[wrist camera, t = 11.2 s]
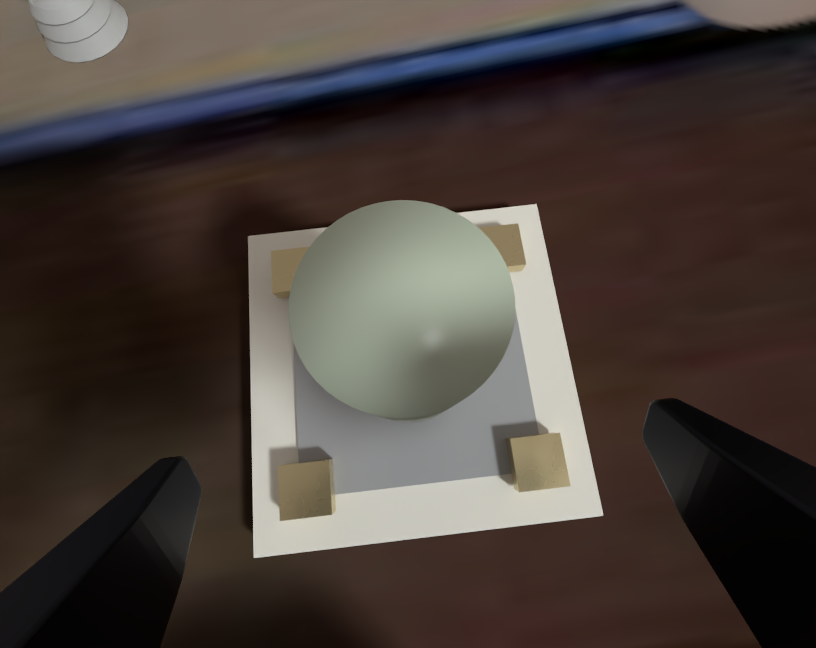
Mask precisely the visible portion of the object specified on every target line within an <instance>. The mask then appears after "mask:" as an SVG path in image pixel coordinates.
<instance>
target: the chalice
mask: <svg viewBox="0 0 816 648" xmlns="http://www.w3.org/2000/svg"><path fill="white" fill-rule="evenodd" d="M28 2H29V8H30V11H31V14H32V15H33V16H34V18H35V19H36V22H37V25H38V28H39V31H40V32H41V33H42V34H43V35H44V39H45V42H46V45H47V48H48V50H49V51H50V52H51V53H52V54H53V55H54V56H56V57H58V58H60V59H62V60H64V61H69V62H77V63H78V62H85V61H92V60H94V59H97V58H99V57H102V56H104V55H106V54H107V53H109V52H110V51H111V50H113V49H114V48H115V47H116V46H117V45H118V44H119V43H120V42H121V40H122V39H123V38H124V35H125V33H126V31H127V28H128V17H127V15H126V12H125V10H124V8H122V7H121V6H120V5H119V4H118V3H117V2H116V1H114V0H28Z"/></svg>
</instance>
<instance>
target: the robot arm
mask: <svg viewBox="0 0 816 648" xmlns="http://www.w3.org/2000/svg"><path fill="white" fill-rule="evenodd" d="M643 440H644V443H645V445H646V447H647V449H648V451H649V453H650V455H651V457H652V459H653V461H654V463H655V465H656V467H657V469H658V472H659V474H660V476H661V478H662V480H663V482H664V484H665V486H666V488H667V490H668V492H669V494H670V496H671V498H672V500H673V502H674V504H675V506H676V508H677V510H678V512H679V514H680V515H681V517H682V519H683V521H684V522H685V524H686V526H687V527H688V529H689V531H690V532H691V534H692V536H693V537H694V539H695V541H696V542H697V544H698V545H699V547H700V549H701V550H702V552H703V553H704V555H705V557H706V558H707V560H708V561H709V563H710V565H711V566H712V568H713V570H714V571H715V573H716V574H717V576H718V578H719V579H720V581H721V582H722V584H723V586H724V587H725V589H726V591H727V592H728V594H729V595H730V597H731V599H732V600H733V602H734V603H735V605H736V607H737V608H738V610H739V612H740V613H741V615H742V616H743V618H744V620H745V621H746V623H747V624H748V626H749V628H750V629H751V631H752V632H753V634H754V636H755V637H756V639H757V641H758V642H759V644H760V645H761V647H762V648H816V467H814V466H812V465H810V464H808V463H806V462H804V461H802V460H800V459H798V458H796V457H794V456H792V455H790V454H788V453H786V452H784V451H782V450H780V449H778V448H776V447H774V446H772V445H770V444H768V443H766V442H764V441H761V440H759V439H757V438H755V437H753V436H751V435H749V434H747V433H745V432H743V431H741V430H739V429H737V428H735V427H733V426H731V425H729V424H727V423H725V422H723V421H721V420H719V419H717V418H715V417H713V416H711V415H709V414H707V413H705V412H703V411H701V410H699V409H697V408H695V407H693V406H691V405H689V404H687V403H685V402H683V401H681V400H678V399H675V398H668V399H659V400H654V401H652V402H651V404H650V405H649V409H648V412H647V416H646V420H645V423H644V427H643ZM200 497H201V486H200V483H199V481H198V479H197V477H196V475H195V473H194V471H193V469H192V468H191V466H190V464H189V462H188V460H187V459H186V458H185V457H182V456H178V457H169V458H163V459H160V460H158V461H157V462H156V463H155V464H153V465H152V466H151V467H150V468H149V469H147V470H146V471H145V472H144V473H143V474H141V475H140V476H139V477H138V478H137V479H135V480H134V481H133V482H132V483H131V484H130V485H128V486H127V487H126V488H125V489H124V490H122V491H121V492H120V493H119V494H118V495H116V496H115V497H114V498H113V499H112V500H110V501H109V502H108V503H107V504H106V505H104V506H103V507H102V508H101V509H100V510H98V511H97V512H96V513H95V514H94V515H93V516H91V517H90V518H89V519H88V520H87V521H85V522H84V523H83V524H82V525H81V526H79V527H78V528H77V529H76V530H75V531H73V532H72V533H71V534H70V535H69V536H67V537H66V538H65V539H64V540H63V541H61V542H60V543H59V544H58V545H57V546H56V547H54V548H53V549H52V550H51V551H50V552H48V553H47V554H46V555H45V556H44V557H42V558H41V559H40V560H39V561H38V562H36V563H35V564H34V565H33V566H32V567H30V568H29V569H28V570H27V571H26V572H25V573H23V574H22V575H21V576H20V577H19V578H17V579H16V580H15V581H14V582H13V583H11V584H10V585H9V586H8V587H7V588H5V589H4V590H3V591H2V592H1V593H0V648H160V646H161V642H162V639H163V636H164V633H165V630H166V627H167V624H168V621H169V618H170V615H171V612H172V609H173V606H174V603H175V600H176V597H177V594H178V590H179V587H180V584H181V581H182V577H183V573H184V569H185V565H186V561H187V556H188V552H189V547H190V543H191V538H192V534H193V529H194V525H195V520H196V516H197V511H198V507H199V502H200Z"/></svg>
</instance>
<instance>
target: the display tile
mask: <svg viewBox="0 0 816 648" xmlns="http://www.w3.org/2000/svg"><path fill="white" fill-rule="evenodd" d="M457 214H459V215H461V216H462V217H464V218H466V219H468V220H469V221H470V222H472V223H473V224H474V225H475V226H477V227H478V228H479V229H480V230H481V231H482V232H483V233H484V234H485V235H486V236H487V237H488V238H489V239H490V240H491V241H492V243H493V244H494V245H495V247H496V248H497V249H498V251H499V253H500V254H501V256H502V258H503V259H504V261H505V263H506V266H507V268H508V271H509V273H510V276H511V280H512V284H513V287H514V295H515V321H514V328H513V333H512V336H511V339H510V343H509V346H508V348H507V350H506V352H505V354H504V356H503V359H502V360H501V362H500V363H499V365H498V366H497V368H496V370H495V371H494V372H493V374H492V375H491V376H490V377H489V378H488V379H487V381H486V382H485V383H484V384H483V385H482V386H481V387H479V388H478V389H477V390H476V391H475V392H474V393H473V394H471V395H470V396H468V397H467V398H465V399H464V400H462V401H461V402H459V403H458V404H456V405H454V406H453V407H451V408H449V409H448V410H446V411H444V412H443V413H441V414H439V415H438V416H436V417H434V418H432V419H429V420H426V421H422V422H416V423H404V422H397V421H393V420H389V419H386V418H383V417H379V416H376V415H372V414H369V413H366V412H363V411H360V410H358V409H355V408H352V407H351V406H349V405H347V404H345V403H343V402H341V401H339V400H338V399H337V398H335V397H334V396H332V395H331V394H330V393H328V392H327V391H326V390H325V389H324V388H323V387H322V386H321V385H320V384H318V383H317V382H316V380H315V379H314V378H313V377H312V375H311V374H310V373H309V372H308V370H307V369H306V367H305V366H304V364H303V362H302V360H301V359H300V357H299V355H298V352H297V350H296V348H295V345H294V342H293V339H292V335H291V331H290V324H289V315H288V312H289V296H290V290H291V285H292V282H293V278H294V275H295V272H296V270H297V268H298V266H299V263H300V261H301V259H302V258H303V256H304V254H305V253H306V251H307V250H308V248H309V247H310V246H311V244H312V243H313V242H314V241H315V239H316V238H317V237H318V236H319V235H320V234H321V233H322V232H323V231H324V230H325V229H326V228H328V227H325V228H316V229H307V230H298V231H289V232H280V233H271V234H262V235H253V236H248V264H249V320H250V377H251V433H252V489H253V545H254V558H259V557H267V556H275V555H284V554H292V553H300V552H308V551H317V550H325V549H333V548H341V547H350V546H358V545H366V544H374V543H383V542H391V541H399V540H407V539H416V538H424V537H432V536H440V535H449V534H457V533H465V532H473V531H482V530H490V529H498V528H506V527H515V526H523V525H531V524H539V523H548V522H556V521H564V520H572V519H581V518H589V517H597V516H603V511H602V507H601V502H600V497H599V493H598V488H597V484H596V479H595V474H594V470H593V465H592V460H591V456H590V451H589V446H588V442H587V437H586V432H585V428H584V423H583V418H582V414H581V409H580V404H579V400H578V395H577V390H576V386H575V381H574V376H573V372H572V367H571V362H570V358H569V353H568V348H567V344H566V339H565V335H564V330H563V325H562V321H561V316H560V311H559V307H558V302H557V297H556V293H555V288H554V283H553V279H552V274H551V269H550V265H549V260H548V255H547V251H546V246H545V241H544V237H543V232H542V227H541V223H540V218H539V213H538V209H537V204H533V205H524V206H515V207H506V208H497V209H488V210H479V211H470V212H461V213H457Z"/></svg>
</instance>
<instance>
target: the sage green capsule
mask: <svg viewBox="0 0 816 648" xmlns="http://www.w3.org/2000/svg"><path fill="white" fill-rule="evenodd" d="M288 315H289V324H290V331H291V335H292V339H293V342H294V345H295V348H296V350H297V352H298V355H299V357H300V359H301V360H302V362H303V364H304V366H305V367H306V369H307V370H308V372H309V373H310V374H311V375H312V377H313V378H314V379H315V380H316V382H317V383H318V384H320V385H321V386H322V387H323V388H324V389H325V390H326V391H327V392H328V393H330V394H331V395H332V396H334V397H335V398H337V399H338V400H339V401H341V402H343V403H345V404H347V405H349V406H351V407H352V408H355V409H358V410H360V411H363V412H366V413H369V414H372V415H376V416H379V417H383V418H386V419H389V420H393V421H397V422H404V423H416V422H422V421H426V420H429V419H432V418H434V417H436V416H438V415H439V414H441V413H443V412H444V411H446V410H448V409H449V408H451V407H453V406H454V405H456V404H458V403H459V402H461V401H462V400H464V399H465V398H467V397H468V396H470V395H471V394H473V393H474V392H475V391H476V390H477V389H478V388H479V387H481V386H482V385H483V384H484V383H485V382H486V381H487V379H488V378H489V377H490V376H491V375H492V374H493V372H494V371H495V370H496V368H497V366H498V365H499V363H500V362H501V360H502V359H503V356H504V354H505V352H506V350H507V348H508V346H509V343H510V339H511V336H512V333H513V328H514V321H515V295H514V287H513V284H512V280H511V276H510V273H509V271H508V268H507V266H506V263H505V261H504V259H503V258H502V256H501V254H500V253H499V251H498V249H497V248H496V247H495V245H494V244H493V243H492V241H491V240H490V239H489V238H488V237H487V236H486V235H485V234H484V233H483V232H482V231H481V230H480V229H479V228H478V227H477V226H475V225H474V224H473V223H472V222H470V221H469V220H468V219H466V218H464V217H462V216H461V215H459V214H457V213H455V212H453V211H451V210H449V209H446V208H444V207H441V206H438V205H434V204H431V203H426V202H420V201H410V200H397V201H386V202H381V203H375V204H372V205H369V206H365V207H362V208H360V209H357V210H355V211H353V212H351V213H349V214H347V215H345V216H343V217H342V218H340V219H338V220H337V221H336V222H334V223H333V224H332V225H330V226H329V227H328V228H326V229H325V230H324V231H323V232H322V233H321V234H320V235H319V236H318V237H317V238H316V239H315V241H314V242H313V243H312V244H311V246H310V247H309V248H308V250H307V251H306V253H305V254H304V256H303V258H302V259H301V261H300V263H299V266H298V268H297V270H296V272H295V275H294V278H293V282H292V285H291V290H290V296H289V312H288Z"/></svg>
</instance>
